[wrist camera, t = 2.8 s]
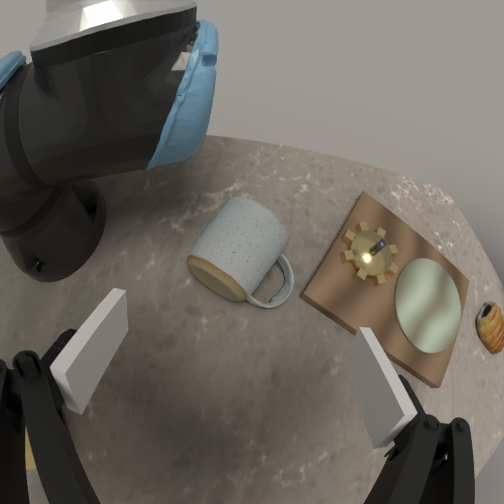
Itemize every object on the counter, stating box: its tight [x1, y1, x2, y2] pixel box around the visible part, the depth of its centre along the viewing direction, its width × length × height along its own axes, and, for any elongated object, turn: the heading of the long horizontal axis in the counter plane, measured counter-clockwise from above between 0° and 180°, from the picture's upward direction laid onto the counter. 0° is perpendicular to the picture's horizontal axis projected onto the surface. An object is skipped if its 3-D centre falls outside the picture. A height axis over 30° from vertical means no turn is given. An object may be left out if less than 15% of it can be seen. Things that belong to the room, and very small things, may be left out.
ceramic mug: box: [187, 197, 294, 308], centre depth 27 cm, size 11×8×8 cm
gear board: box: [300, 191, 469, 388], centre depth 31 cm, size 23×18×2 cm
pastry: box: [477, 301, 504, 354], centre depth 29 cm, size 9×7×4 cm
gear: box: [340, 222, 398, 287], centre depth 30 cm, size 8×8×4 cm
